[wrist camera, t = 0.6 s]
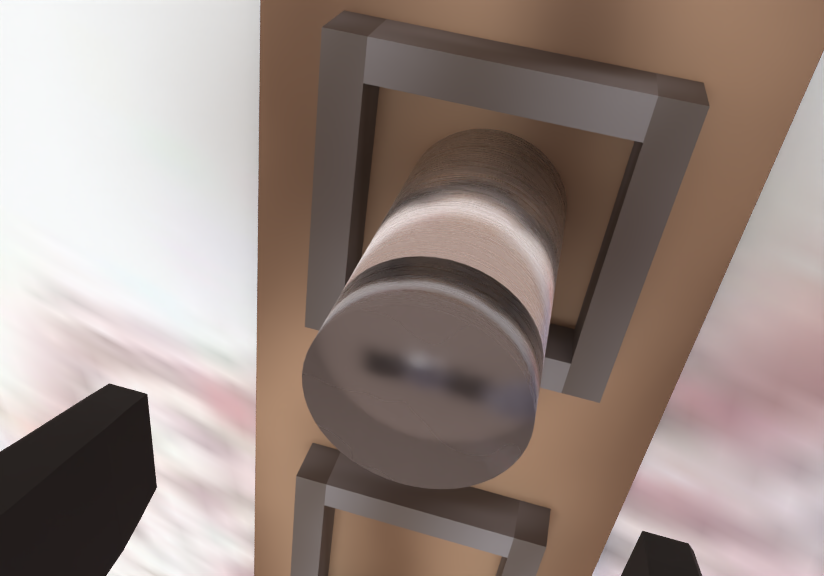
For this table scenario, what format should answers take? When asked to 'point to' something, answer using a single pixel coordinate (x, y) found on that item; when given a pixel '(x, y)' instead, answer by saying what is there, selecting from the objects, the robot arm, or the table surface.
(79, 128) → the table surface
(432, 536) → the dock board
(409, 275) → the metal cylinder
